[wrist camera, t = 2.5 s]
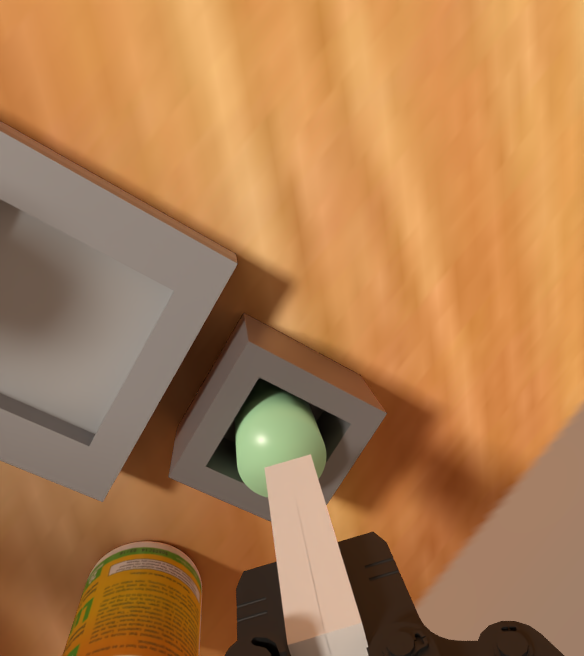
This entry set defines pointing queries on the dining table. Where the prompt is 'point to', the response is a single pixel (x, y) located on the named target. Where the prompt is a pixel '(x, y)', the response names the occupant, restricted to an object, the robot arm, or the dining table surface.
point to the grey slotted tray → (89, 314)
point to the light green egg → (274, 434)
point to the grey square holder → (290, 375)
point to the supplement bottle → (139, 604)
